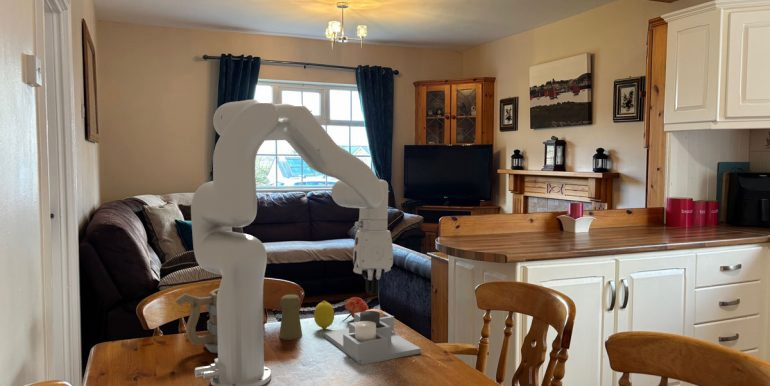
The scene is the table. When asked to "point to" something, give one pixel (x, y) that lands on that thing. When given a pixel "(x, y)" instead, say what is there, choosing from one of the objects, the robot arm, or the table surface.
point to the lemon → (324, 314)
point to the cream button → (365, 331)
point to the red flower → (356, 306)
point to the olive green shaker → (290, 318)
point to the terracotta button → (377, 311)
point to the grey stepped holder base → (372, 342)
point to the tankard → (195, 302)
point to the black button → (371, 317)
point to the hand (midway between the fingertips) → (371, 293)
